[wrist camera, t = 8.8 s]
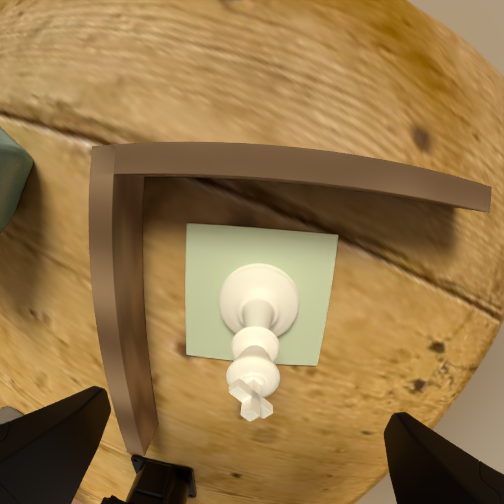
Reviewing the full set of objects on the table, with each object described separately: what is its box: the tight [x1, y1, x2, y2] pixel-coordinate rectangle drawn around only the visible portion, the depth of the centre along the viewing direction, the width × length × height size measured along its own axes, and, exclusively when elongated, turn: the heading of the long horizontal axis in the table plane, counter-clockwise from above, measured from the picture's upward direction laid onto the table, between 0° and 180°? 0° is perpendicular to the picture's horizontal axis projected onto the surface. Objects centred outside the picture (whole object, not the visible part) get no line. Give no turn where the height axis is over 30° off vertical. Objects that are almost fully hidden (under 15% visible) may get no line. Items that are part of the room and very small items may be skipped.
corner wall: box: [89, 142, 491, 456], centre depth 16 cm, size 22×22×4 cm
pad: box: [185, 223, 338, 366], centre depth 18 cm, size 9×9×1 cm
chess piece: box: [219, 263, 299, 422], centre depth 13 cm, size 5×5×10 cm
